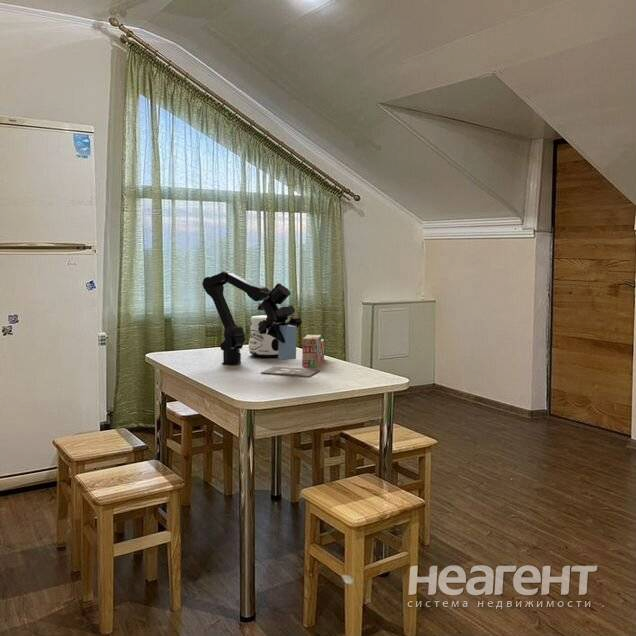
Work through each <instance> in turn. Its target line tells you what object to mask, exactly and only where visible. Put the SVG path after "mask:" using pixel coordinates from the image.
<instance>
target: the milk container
mask: <svg viewBox="0 0 636 636" xmlns="http://www.w3.org/2000/svg"><path fill="white" fill-rule="evenodd" d="M266 318H267V316H266V314H265V315H253V316H251V318H250V336H249V340H248V351H249V353H250V354H251V355H253V356H255V357H262V358H274V357H275V358H276V357H278V343H279V340H277V339H276V338H274V337H272V336H270V335H267V333H268V329H266V330H267V332H266V334H260V332H259V331H258V327H259V326H260V324H261V323H262V322H263V320H266Z"/></svg>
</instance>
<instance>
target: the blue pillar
mask: <svg viewBox="0 0 636 636" xmlns="http://www.w3.org/2000/svg"><path fill="white" fill-rule="evenodd" d="M279 330H280V332H281V334H282V336H283V338H284V340H285V343H282V342H280V341H279V343H278V356H277V358H278V359H280V360H284V361H289V360H296V359H297V334H298V333H297V331H298V328H297V326H292V325H281V326H279Z"/></svg>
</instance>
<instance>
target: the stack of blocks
mask: <svg viewBox="0 0 636 636" xmlns="http://www.w3.org/2000/svg"><path fill="white" fill-rule="evenodd" d="M301 358H302V359H301V360H302V361H301V363H302V364H301V367H302V366H305V367H304V368H317V367H319V366H320V364H321V363H322V362H323V361H324V360H325V339H324V338H322V335H321V334H307V335H305V336H304V337H302V357H301ZM323 359H324V360H323ZM321 361H322V362H321ZM320 362H321V363H320Z"/></svg>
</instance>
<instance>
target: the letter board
mask: <svg viewBox="0 0 636 636" xmlns="http://www.w3.org/2000/svg"><path fill="white" fill-rule="evenodd" d="M320 371H321V369H315V368H314V369H313V368H304V367H303V368H299V367H288V366H287V367H285V366H272V367H269V368H267V369H265V370H263V371H260V374H261V373H262V374H261V375H271V374H272V375H275V376H284V375H285V376H286V377H287V376H288V377H297V376H300V377H299V378H310V376H311V377H312V376H314V375H316V374H317V372H318V373H319V372H320ZM315 373H316V374H315Z"/></svg>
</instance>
